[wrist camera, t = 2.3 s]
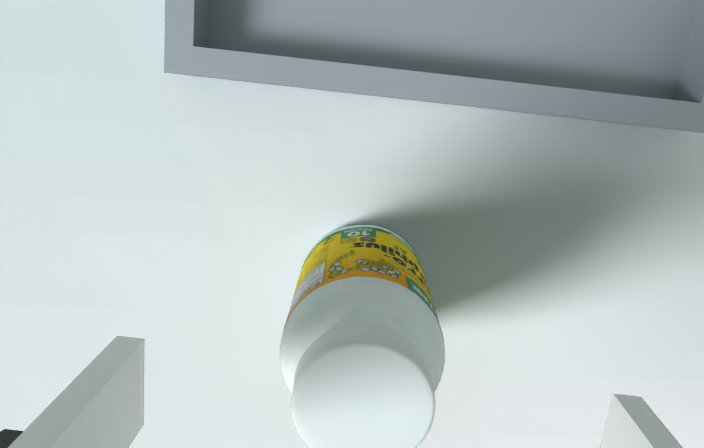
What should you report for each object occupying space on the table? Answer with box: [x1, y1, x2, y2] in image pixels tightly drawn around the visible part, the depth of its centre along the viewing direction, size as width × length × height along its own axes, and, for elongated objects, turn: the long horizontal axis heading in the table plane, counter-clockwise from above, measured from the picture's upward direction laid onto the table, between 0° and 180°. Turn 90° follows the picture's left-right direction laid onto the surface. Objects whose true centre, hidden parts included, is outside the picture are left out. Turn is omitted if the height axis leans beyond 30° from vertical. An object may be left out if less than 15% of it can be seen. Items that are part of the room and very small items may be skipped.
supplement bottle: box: [280, 225, 445, 448], centre depth 20 cm, size 5×5×10 cm
